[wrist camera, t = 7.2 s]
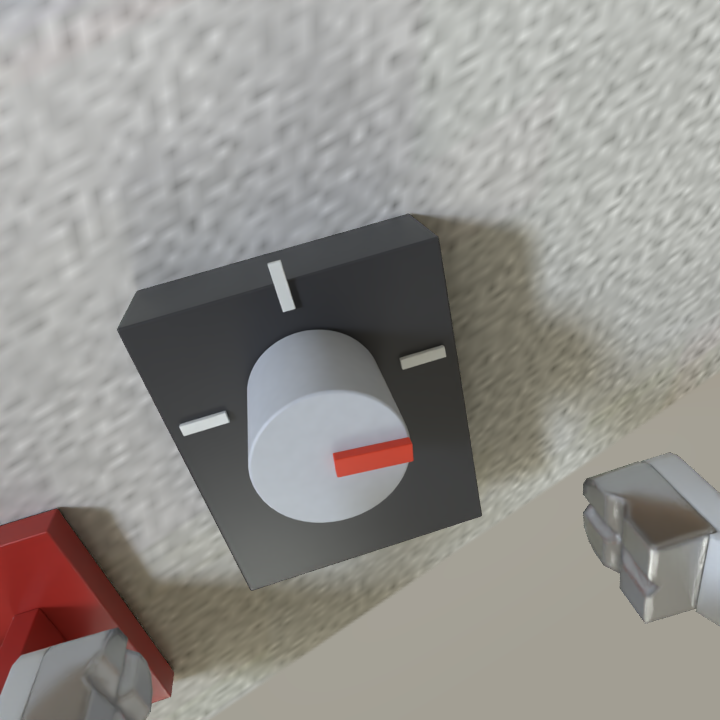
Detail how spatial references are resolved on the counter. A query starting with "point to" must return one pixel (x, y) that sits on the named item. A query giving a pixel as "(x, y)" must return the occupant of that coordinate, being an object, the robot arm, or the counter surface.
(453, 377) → the console
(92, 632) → the red lever mount bracket
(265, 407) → the dial
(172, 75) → the counter surface
